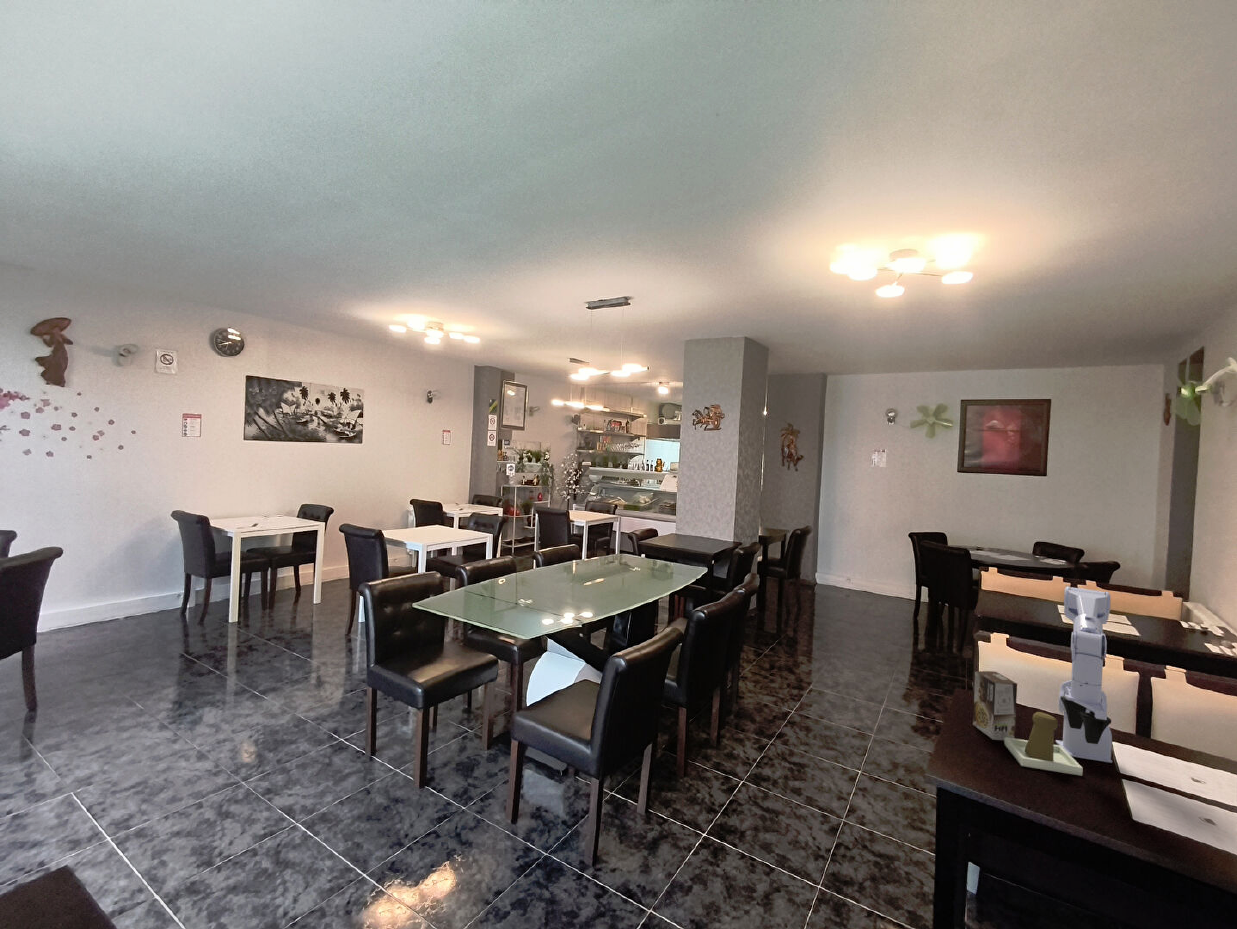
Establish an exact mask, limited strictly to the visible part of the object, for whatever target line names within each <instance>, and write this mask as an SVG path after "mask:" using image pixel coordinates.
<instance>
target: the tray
mask: <svg viewBox="0 0 1237 929" xmlns="http://www.w3.org/2000/svg"><path fill="white" fill-rule="evenodd" d="M1003 742H1004V744H1003V745H1004V746H1005V747H1006V748H1007V749H1008V751H1009V752H1010V753H1011V755H1012V756H1013V757H1014V758H1015V759H1016V761H1017V762H1018V763H1019V765H1020V766H1021V767H1026V768H1031V769H1040V770H1045V771H1050V772H1056V773H1057V772H1058V773H1062V774H1069V775H1074V776H1075V775H1076V776H1081V777H1082V776H1083V771H1084V770H1083V766H1082V765H1080V764H1079V762H1077V760H1076V759H1075V758H1074V757H1072V756H1070V755H1069V754H1068V753H1067V752H1066V751H1065V750H1064V749H1063V748H1062V747H1061V746H1060V745H1058V744H1054V754H1053V762H1052V761H1046V760H1040V759H1036V758H1034V757H1032V756H1030V755H1028V754H1027V753H1026V752H1025V748H1026V745H1027V742H1028V740H1027V739H1026V740H1025V739H1021V738H1015V737H1014V738H1008V737H1005V739H1004V740H1003Z"/></svg>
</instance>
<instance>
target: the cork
mask: <svg viewBox="0 0 1237 929" xmlns="http://www.w3.org/2000/svg"><path fill="white" fill-rule="evenodd" d="M1032 722H1033V726H1032V729H1031V730H1030V731H1031V732H1030V734H1029V738H1028V740H1027V741H1028V742H1027V745H1026V748H1025V752H1026V753H1027V754H1028V755H1030V756H1032V757H1034V758H1036V759H1040V760H1046V761H1052V762H1053V754H1054V745H1055V738H1054V737H1055V733H1054V732H1055V730H1057V729H1058V727H1059V722H1058V720H1057V718H1055V717H1054V716H1053V715H1050V714H1048V713H1045V712H1041V711H1036V712H1035V713H1033V715H1032Z"/></svg>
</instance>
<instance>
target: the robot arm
mask: <svg viewBox="0 0 1237 929" xmlns="http://www.w3.org/2000/svg"><path fill="white" fill-rule="evenodd" d="M1063 594H1064V597H1063V599H1064V600H1063V608H1064V609H1063V611H1064V612H1063V613H1064V617H1065V618H1067V619H1069V620H1070V621H1071V622H1072V624H1073V629H1072V630H1073V631H1071V638H1070V640H1071V641H1070V652H1071V661H1072V662H1071V677H1070V678H1071V679H1070V680H1068V681H1067V680H1066V681H1064V682H1063V683H1061V684H1060V688H1059V692H1058V693H1059V695H1058V711H1059V712H1060V713H1061V714H1063V730H1062V740H1058V739H1056V740H1055V743H1056V745H1060V746H1061V747H1062V748H1063V749H1064V750H1065V751H1066V752H1067V753H1068V754H1069V755H1070V756H1071V757H1072V758H1080V759H1084V760H1085V759H1086V760H1091V761H1092V760H1093V761H1099V762H1103V763H1111V764H1112V763H1113V760H1112V759H1111V758H1112V746H1113V745H1112V741H1113V736H1112V730H1111V729H1110V727H1109V726H1110V724H1112V719H1111V718H1110V717H1108V703H1107V695H1106V693H1105V692H1104V691H1103V690H1102V687H1103V668H1104V667H1103V666H1104V660H1105V658H1106V656H1107V644H1108V642H1107V637H1106V633H1104V629H1103V625H1106V624H1108V621H1109V616H1110V612H1111V601H1112V600H1111V594H1110V593H1109V591H1100V590H1094V589H1088V588H1087V589H1086V588H1079V587H1071V586H1068V585H1067V586H1066V587H1064V593H1063Z"/></svg>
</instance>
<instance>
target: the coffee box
mask: <svg viewBox="0 0 1237 929" xmlns="http://www.w3.org/2000/svg"><path fill="white" fill-rule="evenodd" d="M1017 693H1018V683H1017V682H1015V681H1013V680H1011V679H1009V678H1008V677H1006V676H1004V675H1003V674H1000V673H998V671H991V670H990V671H989V670H987V671H986V670H985V671H979V670H975V671H974V694H973V718H972V720H973V721H972V725H973V726H974V727H975V728H977V729H978V730H980V732H982V733H983V734H984V735H986V736H987V737H989V738H990V739H991V740H993V741H1004V739H1005V737H1008V738H1014V739H1015V738H1016V736H1015V735H1016V734H1015V731H1016V715H1017V714H1016V713H1017V696H1018V694H1017Z"/></svg>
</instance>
